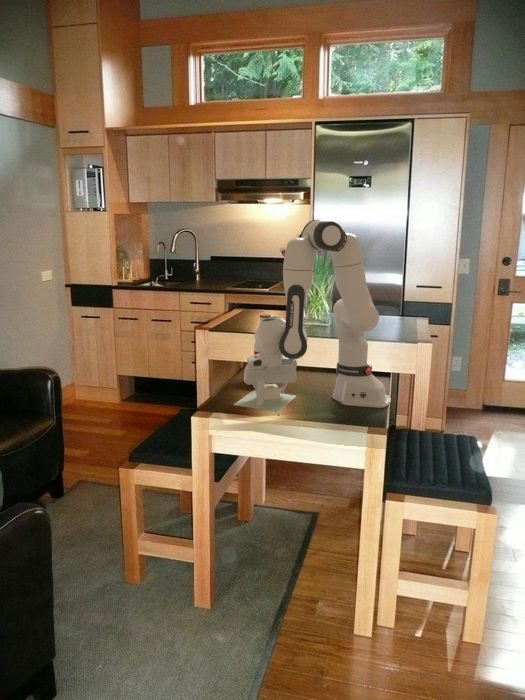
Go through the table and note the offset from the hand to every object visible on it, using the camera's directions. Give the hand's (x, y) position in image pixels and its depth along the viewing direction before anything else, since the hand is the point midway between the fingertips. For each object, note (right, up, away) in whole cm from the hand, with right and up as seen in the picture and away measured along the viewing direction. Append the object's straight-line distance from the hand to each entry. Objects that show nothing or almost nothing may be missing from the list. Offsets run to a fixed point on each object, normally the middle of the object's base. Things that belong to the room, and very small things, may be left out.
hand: (270, 393), depth 212 cm
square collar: (0, -1, 0) cm, 1 cm away
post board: (-2, -4, -3) cm, 5 cm away
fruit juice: (-2, +5, +32) cm, 33 cm away
